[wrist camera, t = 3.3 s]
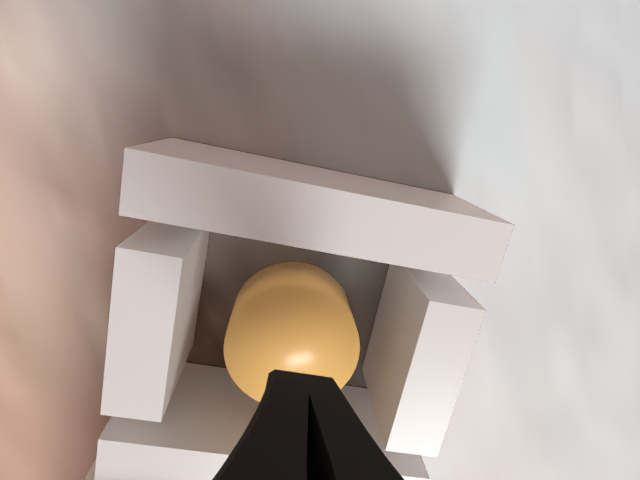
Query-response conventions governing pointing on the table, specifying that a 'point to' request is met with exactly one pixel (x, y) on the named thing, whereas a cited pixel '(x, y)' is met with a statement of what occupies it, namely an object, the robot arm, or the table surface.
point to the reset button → (290, 327)
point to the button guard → (297, 231)
